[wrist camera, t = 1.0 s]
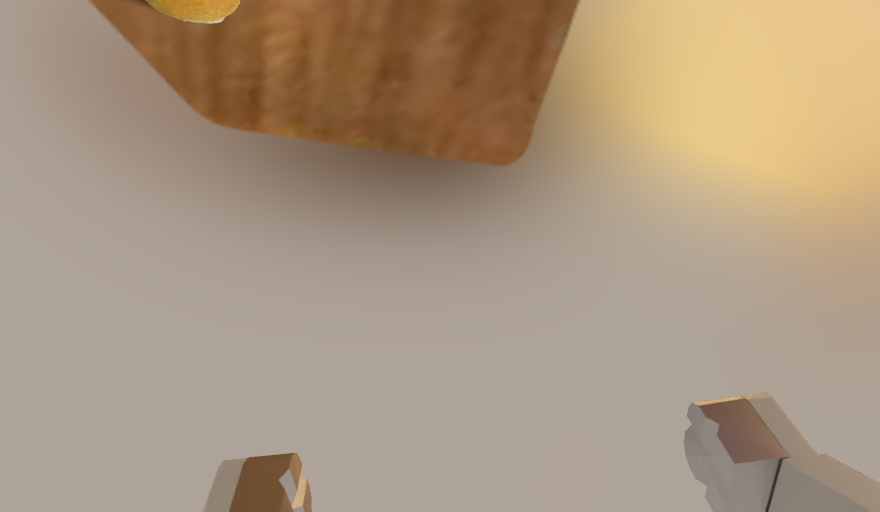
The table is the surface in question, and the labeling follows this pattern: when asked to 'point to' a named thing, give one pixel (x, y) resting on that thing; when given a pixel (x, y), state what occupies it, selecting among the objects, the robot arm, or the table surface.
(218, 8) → the bread roll
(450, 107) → the table surface
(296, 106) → the table surface
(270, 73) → the table surface
